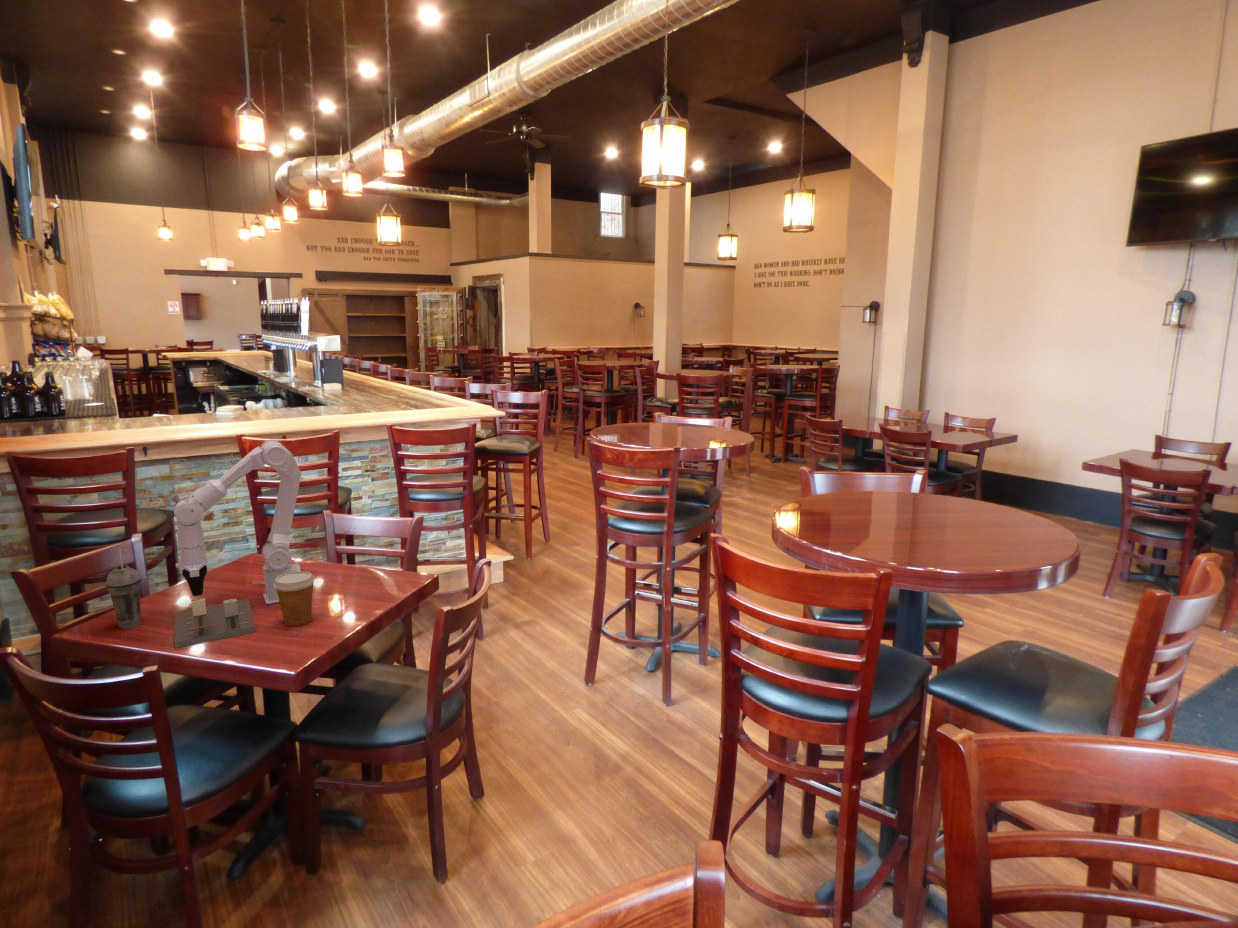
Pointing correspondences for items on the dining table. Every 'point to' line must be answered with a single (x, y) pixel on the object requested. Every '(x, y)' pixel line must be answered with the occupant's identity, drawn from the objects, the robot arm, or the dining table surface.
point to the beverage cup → (125, 595)
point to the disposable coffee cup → (295, 597)
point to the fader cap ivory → (199, 607)
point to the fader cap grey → (230, 607)
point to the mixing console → (212, 624)
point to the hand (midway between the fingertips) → (197, 594)
